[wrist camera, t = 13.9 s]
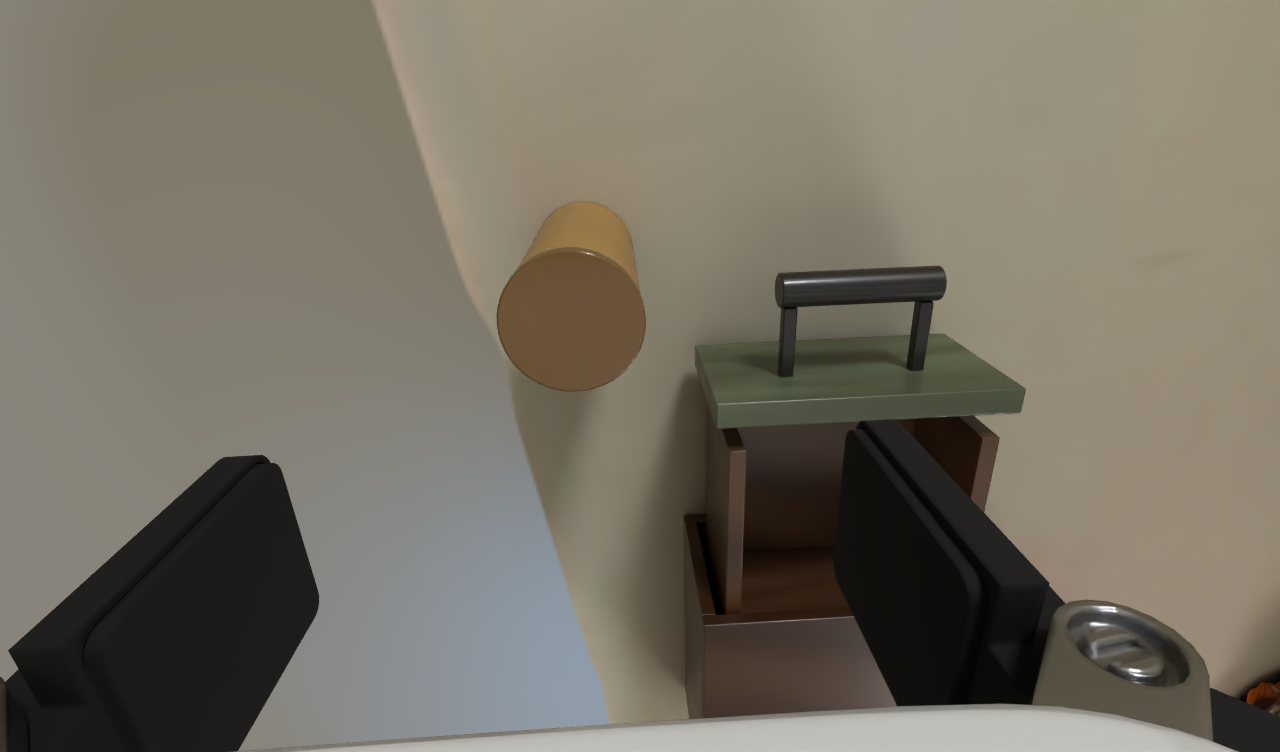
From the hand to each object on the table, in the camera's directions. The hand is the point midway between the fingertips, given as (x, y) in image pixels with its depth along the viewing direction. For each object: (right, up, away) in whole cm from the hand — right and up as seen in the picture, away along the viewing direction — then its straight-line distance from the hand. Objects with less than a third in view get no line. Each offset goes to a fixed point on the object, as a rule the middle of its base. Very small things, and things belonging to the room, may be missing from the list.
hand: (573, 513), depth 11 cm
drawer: (+11, 0, +24) cm, 27 cm away
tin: (-2, +9, +21) cm, 23 cm away
